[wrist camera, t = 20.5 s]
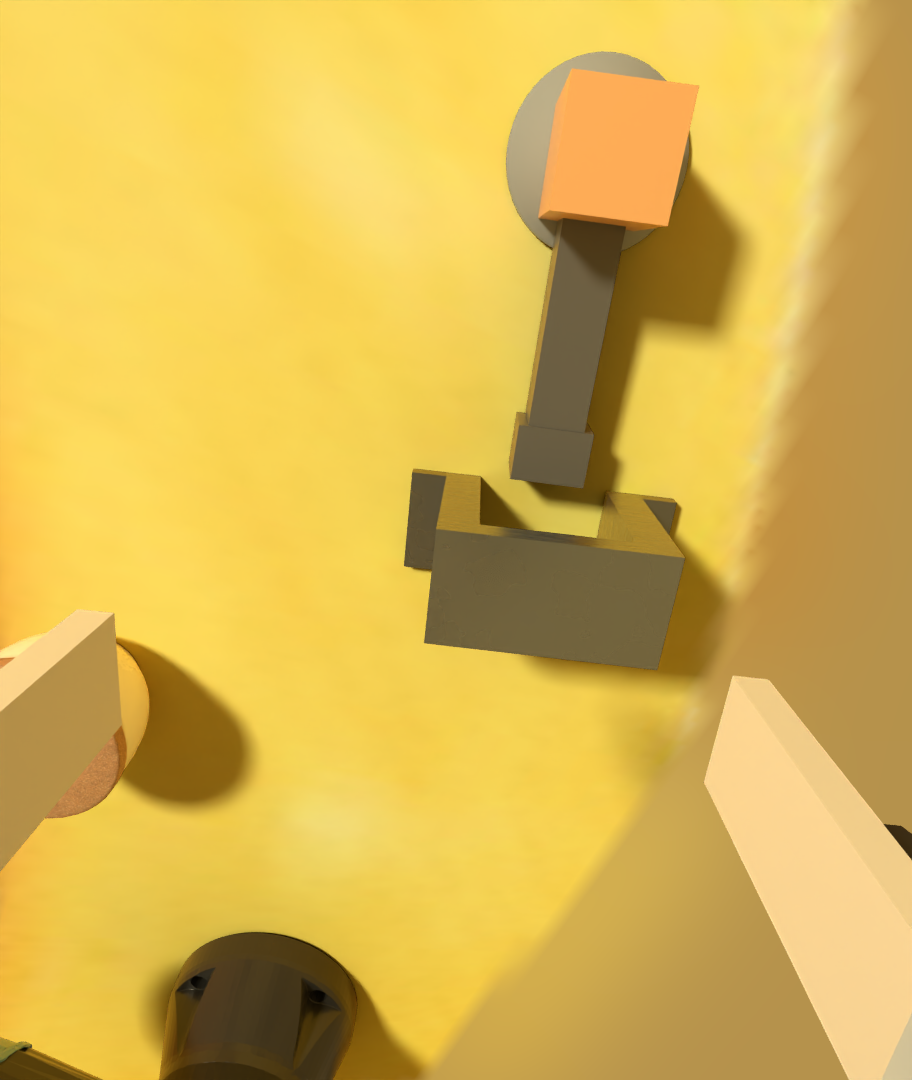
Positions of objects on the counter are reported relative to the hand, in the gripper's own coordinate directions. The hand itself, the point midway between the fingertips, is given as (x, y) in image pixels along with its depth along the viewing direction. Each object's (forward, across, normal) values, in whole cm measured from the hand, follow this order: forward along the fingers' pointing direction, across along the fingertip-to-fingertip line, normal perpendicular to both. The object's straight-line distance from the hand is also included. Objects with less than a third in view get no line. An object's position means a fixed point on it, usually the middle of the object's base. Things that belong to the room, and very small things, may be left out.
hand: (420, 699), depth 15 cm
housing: (+27, +6, -4) cm, 28 cm away
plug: (+26, +6, +9) cm, 28 cm away
